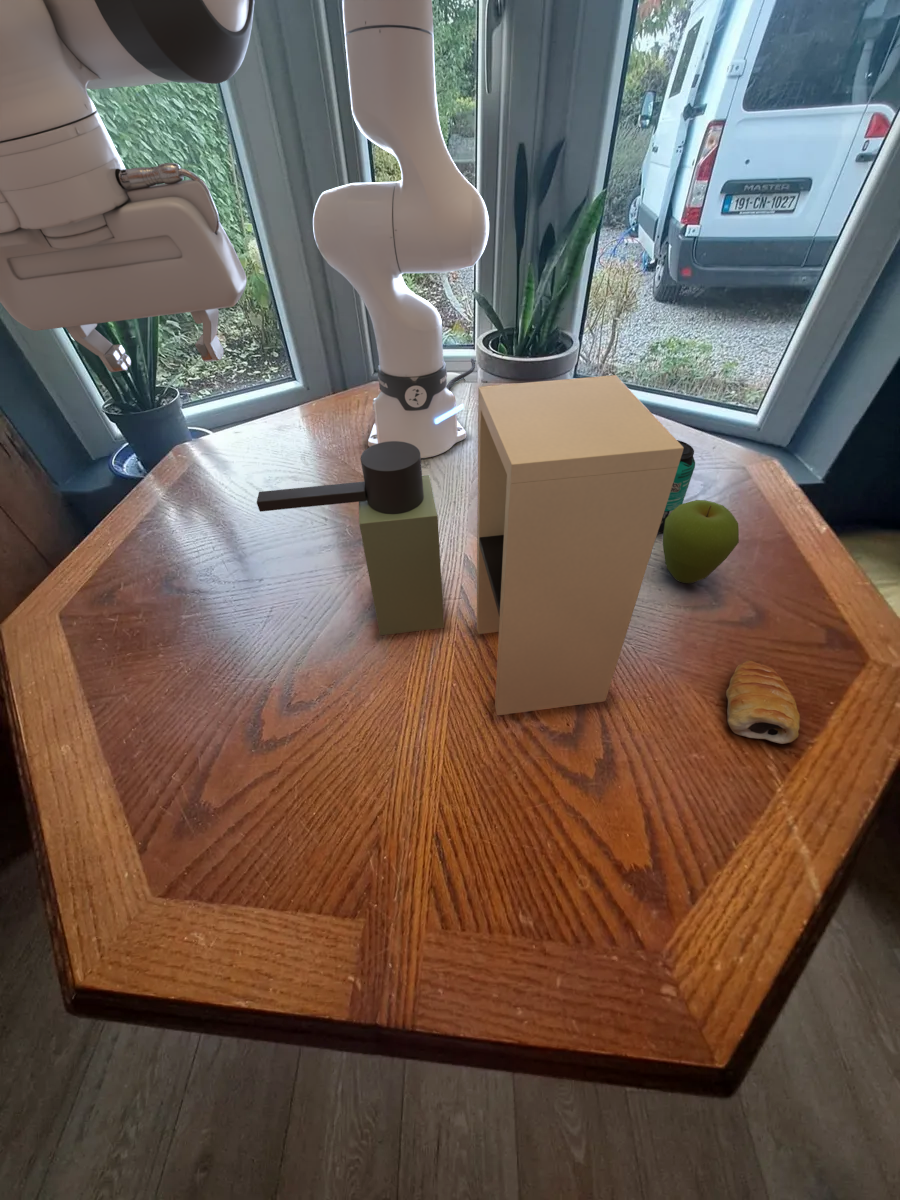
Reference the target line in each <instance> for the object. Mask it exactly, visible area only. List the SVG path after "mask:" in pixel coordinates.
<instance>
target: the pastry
mask: <svg viewBox="0 0 900 1200" xmlns="http://www.w3.org/2000/svg"><path fill="white" fill-rule="evenodd" d="M728 685H729V686H728V688H727V689H726V692H725V695H726V698H727V707H726V708H727V711H726V712H727V713H726V714H727V719H726V720H727V724H728V727H729V728H730V730H731V731H732V732H733V733H734V734H736V735H738V736H742V737H744V738H745V737H746V738H749V739H756V740H757V739H758V740H759V739H760V740H767V741H769V742H772V743H777V744H780V745H784V744H789V743H792V742H793V741H795V740H797V738H798V737H799V735H800V734H799V730H800V721H801V714H800V713H799V710H798V706H797V703H796V699H795V697H794V695H793V693H792V692H791V691H790V689H789V687H788V686H787V685H786V684H785V682H784V680H783V679H782V677H781V676H780V675H779V673H778V672H777V671H776V670H775V669H773V667H770V666H767V665H765V664H762V663H757V662H755V661H753V660H747V661H745V662H742V663H740V664H738V665H737V666H736V668H735V671H734V673H733V674H732V676H731V677H730V679H729V684H728Z"/></svg>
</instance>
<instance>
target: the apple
mask: <svg viewBox="0 0 900 1200" xmlns="http://www.w3.org/2000/svg"><path fill="white" fill-rule="evenodd" d="M739 527H740V526H739V522H738V520H737V519H736V517H735V515H734V514H733V513H732V512H731V511H730V510H729V509H728V508H727V507H726V506H725V505H723V504H720V503H718V502H714V501H711V500H705V499H695V500H690V501H687V502H683V504H680V505H679V506H678V507H676V508H675V509H674V510H673V511H672V512H671V513H670V514H669V515H668V517H667V518H666V519H665V525H664V531H663V533H662V534H663V535H662V549H663V557H664V564H665V566H666V569H667V570H668V572H669V573H670V575H671V576H672V577H673V578H674V579H675V581H678V582H679V583H683V584H694V583H697V582H699V581H702V580H704V579H706V578H707V577H708V576H710V575H711V574H712V572H714V571H715V570H716V569H717V568H718V567H719V566H720V565H721V564H723V563H724V561H726V559H727V558H728V557H729V556H730V555H731V553H732V552H733V551H734V549H735V548H736V547H737V546H738V544H739V542H740V541H739V538H740V537H739V534H740V528H739Z"/></svg>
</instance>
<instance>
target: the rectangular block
mask: <svg viewBox="0 0 900 1200" xmlns="http://www.w3.org/2000/svg"><path fill="white" fill-rule="evenodd" d="M422 481H423V493H424V498H423V501H422V503H421V504H420V505H419V506H418V507H416V508H415V509H413V510H411V511H408V512H405V513H400V514H385V513H380V512H377V511H375V510H374V509H372V508H371V507H370V506H369V504H368V501H361V502H358V525H359V530H360V536H361V541H362V547H363V550H364V551H363V552H364V557H365V562H366V563H365V564H366V568H367V573H368V578H369V584H370V589H371V593H372V600H373V605H374V610H375V615H376V623H377V626H378V627H377V628H378V632H379V636H389V635H397V634H405V633H413V632H421V631H430V630H437V629H445V620H444V619H445V618H444V604H443V603H444V602H443V601H444V600H443V584H442V582H443V581H442V568H441V567H442V565H441V549H440V548H441V547H440V532H439V529H440V528H439V516H438V515H439V514H438V509H437V505H436V500H435V496H434V490H433V485H432V480H431V475H430V474H427V475H422ZM362 482H364V480H363V481H362Z"/></svg>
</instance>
